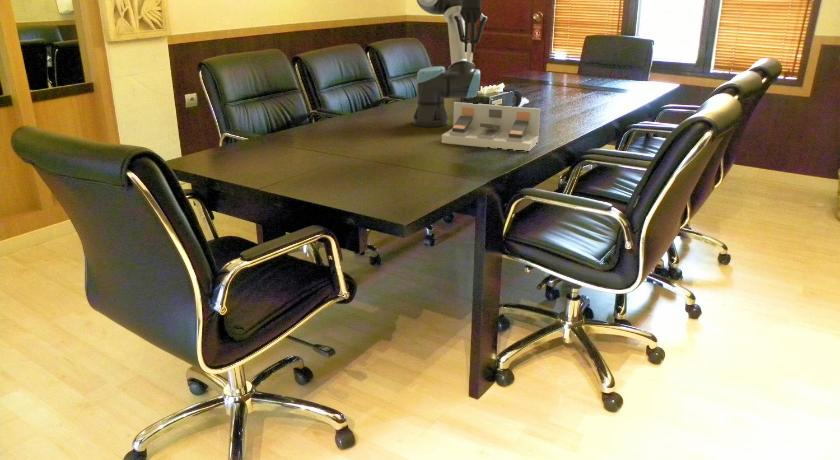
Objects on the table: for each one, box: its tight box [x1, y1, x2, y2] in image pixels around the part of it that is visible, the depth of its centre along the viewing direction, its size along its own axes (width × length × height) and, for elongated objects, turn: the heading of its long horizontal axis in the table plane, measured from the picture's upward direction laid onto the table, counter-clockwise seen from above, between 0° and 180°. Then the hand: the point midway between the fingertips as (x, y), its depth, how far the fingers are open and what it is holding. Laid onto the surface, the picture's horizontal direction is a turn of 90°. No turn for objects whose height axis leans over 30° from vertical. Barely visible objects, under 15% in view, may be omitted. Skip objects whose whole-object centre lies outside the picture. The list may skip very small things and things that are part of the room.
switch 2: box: [480, 123, 500, 129], centre depth 242 cm, size 5×10×1 cm, turn 158°
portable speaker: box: [479, 87, 523, 107], centre depth 298 cm, size 25×10×10 cm, turn 114°
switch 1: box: [451, 116, 473, 132], centre depth 246 cm, size 5×10×1 cm, turn 158°
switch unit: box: [441, 101, 541, 152], centre depth 242 cm, size 34×14×13 cm, turn 68°
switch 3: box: [509, 120, 529, 138], centre depth 238 cm, size 5×10×1 cm, turn 158°
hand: (469, 61), depth 249 cm, fingers closed
